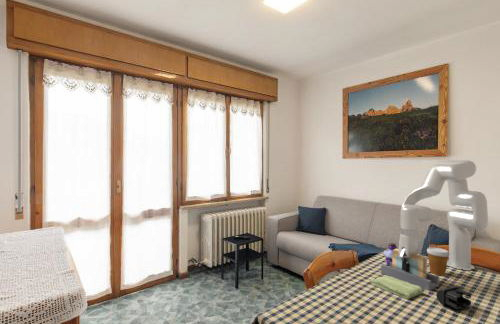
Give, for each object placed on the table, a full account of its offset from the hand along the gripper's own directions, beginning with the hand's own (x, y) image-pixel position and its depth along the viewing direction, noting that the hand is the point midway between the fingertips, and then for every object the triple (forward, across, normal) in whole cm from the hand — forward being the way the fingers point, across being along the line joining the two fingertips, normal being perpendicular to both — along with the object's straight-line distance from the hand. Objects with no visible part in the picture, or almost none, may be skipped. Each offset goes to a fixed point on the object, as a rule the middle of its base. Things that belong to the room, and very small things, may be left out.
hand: (408, 269), depth 128 cm
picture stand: (+5, 0, 0) cm, 5 cm away
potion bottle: (+5, -11, -14) cm, 18 cm away
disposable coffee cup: (+5, -21, +4) cm, 22 cm away
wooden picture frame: (+3, 0, 0) cm, 3 cm away
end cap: (+5, +11, +22) cm, 25 cm away
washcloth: (+5, +16, +2) cm, 17 cm away
